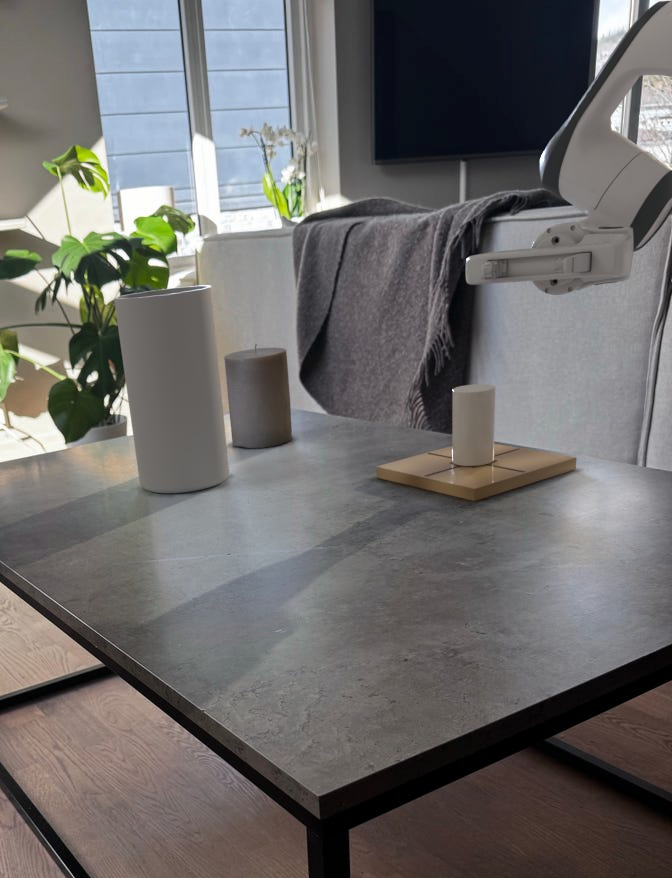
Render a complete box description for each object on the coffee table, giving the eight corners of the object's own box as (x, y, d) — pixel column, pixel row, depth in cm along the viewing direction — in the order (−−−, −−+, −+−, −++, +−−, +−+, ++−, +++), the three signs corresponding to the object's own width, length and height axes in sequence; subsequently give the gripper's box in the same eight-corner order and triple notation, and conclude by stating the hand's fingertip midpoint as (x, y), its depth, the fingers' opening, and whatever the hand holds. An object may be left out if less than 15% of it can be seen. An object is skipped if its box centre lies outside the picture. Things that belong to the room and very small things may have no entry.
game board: (576, 469, 112) (576, 456, 111) (474, 501, 105) (474, 487, 104) (472, 450, 126) (472, 439, 125) (376, 477, 118) (376, 465, 118)
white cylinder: (490, 454, 116) (492, 382, 113) (496, 464, 112) (498, 389, 108) (450, 457, 117) (450, 386, 114) (454, 467, 113) (454, 393, 109)
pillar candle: (292, 432, 149) (286, 336, 143) (293, 445, 140) (286, 344, 134) (233, 437, 150) (224, 343, 144) (230, 451, 142) (220, 351, 136)
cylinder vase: (142, 499, 121) (114, 301, 111) (138, 477, 133) (113, 295, 123) (235, 487, 122) (216, 288, 112) (223, 466, 133) (205, 283, 123)
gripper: (490, 240, 128) (444, 249, 118) (646, 225, 115) (609, 233, 105) (489, 288, 130) (444, 300, 121) (642, 278, 117) (605, 291, 108)
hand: (522, 269), depth 113 cm, fingers open, 8 cm apart
